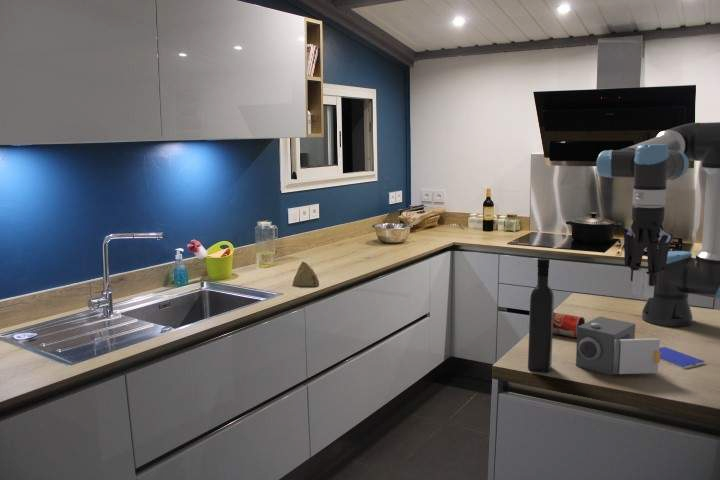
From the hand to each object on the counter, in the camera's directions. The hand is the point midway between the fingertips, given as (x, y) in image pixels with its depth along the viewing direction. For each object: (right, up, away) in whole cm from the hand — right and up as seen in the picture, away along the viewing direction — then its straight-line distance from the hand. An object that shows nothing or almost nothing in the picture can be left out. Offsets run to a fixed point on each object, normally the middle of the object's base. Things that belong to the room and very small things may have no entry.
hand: (642, 295), depth 161 cm
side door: (-2, -20, -1) cm, 20 cm away
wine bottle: (-25, -20, +6) cm, 33 cm away
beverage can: (-10, -16, +34) cm, 39 cm away
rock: (-96, -5, +101) cm, 139 cm away
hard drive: (+14, -19, +12) cm, 27 cm away
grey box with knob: (-6, -19, +9) cm, 22 cm away
